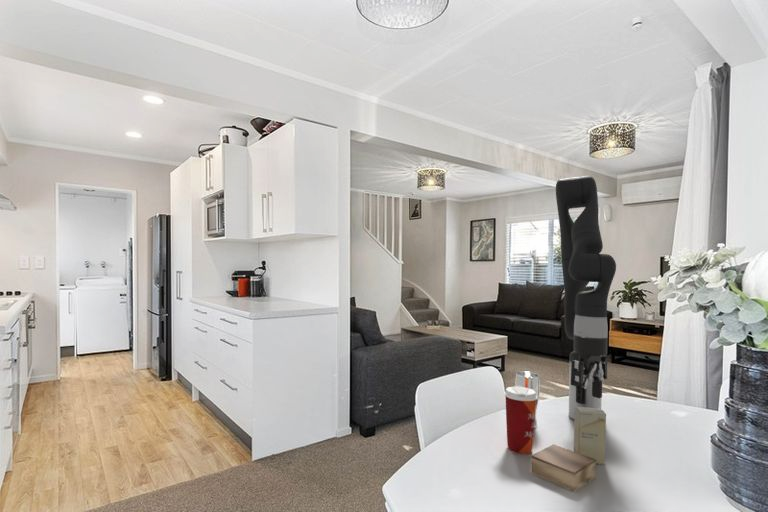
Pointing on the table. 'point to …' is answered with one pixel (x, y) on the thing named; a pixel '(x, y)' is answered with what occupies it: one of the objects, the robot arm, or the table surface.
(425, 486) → the table surface
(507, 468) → the table surface
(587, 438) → the skincare box
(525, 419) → the coffee cup
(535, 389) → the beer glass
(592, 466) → the pedestal
